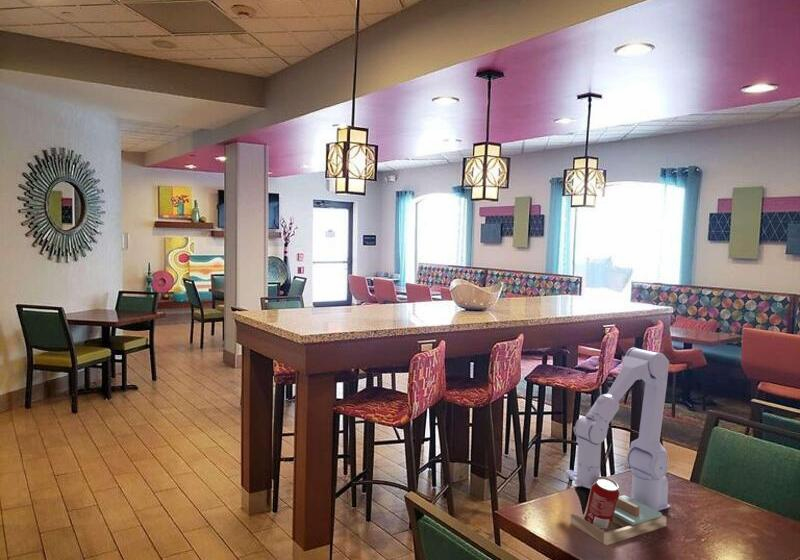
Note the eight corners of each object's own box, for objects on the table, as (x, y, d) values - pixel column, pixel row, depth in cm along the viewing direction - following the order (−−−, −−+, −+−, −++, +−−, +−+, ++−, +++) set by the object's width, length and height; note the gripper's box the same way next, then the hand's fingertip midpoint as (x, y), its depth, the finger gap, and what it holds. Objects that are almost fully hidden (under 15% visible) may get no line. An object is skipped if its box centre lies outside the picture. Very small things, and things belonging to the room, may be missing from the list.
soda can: (609, 535, 145) (621, 495, 141) (582, 526, 147) (592, 486, 143) (609, 519, 151) (621, 480, 147) (583, 510, 153) (593, 472, 149)
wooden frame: (624, 505, 161) (625, 496, 161) (666, 526, 149) (666, 516, 149) (567, 521, 151) (567, 512, 150) (606, 545, 139) (607, 535, 139)
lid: (624, 497, 159) (624, 486, 159) (661, 516, 149) (662, 503, 149) (596, 505, 154) (596, 493, 154) (632, 525, 144) (633, 512, 144)
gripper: (557, 456, 156) (555, 505, 156) (599, 476, 143) (596, 529, 144) (576, 452, 159) (574, 500, 160) (619, 471, 146) (616, 523, 147)
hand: (586, 514), depth 152 cm, fingers closed
